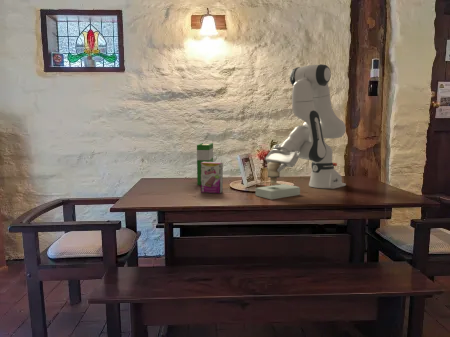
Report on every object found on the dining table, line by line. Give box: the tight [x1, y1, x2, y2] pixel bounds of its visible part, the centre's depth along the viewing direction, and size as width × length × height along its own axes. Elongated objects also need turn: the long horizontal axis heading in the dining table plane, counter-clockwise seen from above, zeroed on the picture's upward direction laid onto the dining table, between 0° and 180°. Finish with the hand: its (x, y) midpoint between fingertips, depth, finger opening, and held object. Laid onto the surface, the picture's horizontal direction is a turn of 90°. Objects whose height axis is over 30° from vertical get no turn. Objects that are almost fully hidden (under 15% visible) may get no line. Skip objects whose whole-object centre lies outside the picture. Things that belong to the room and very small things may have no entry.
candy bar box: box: [200, 161, 224, 194], centre depth 204 cm, size 11×5×16 cm, turn 74°
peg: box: [267, 163, 281, 184], centre depth 194 cm, size 6×6×10 cm
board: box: [255, 183, 301, 200], centre depth 197 cm, size 20×12×4 cm, turn 125°
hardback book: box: [196, 142, 214, 186], centre depth 235 cm, size 18×7×24 cm, turn 174°
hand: (272, 170), depth 194 cm, fingers closed on peg, 6 cm apart
